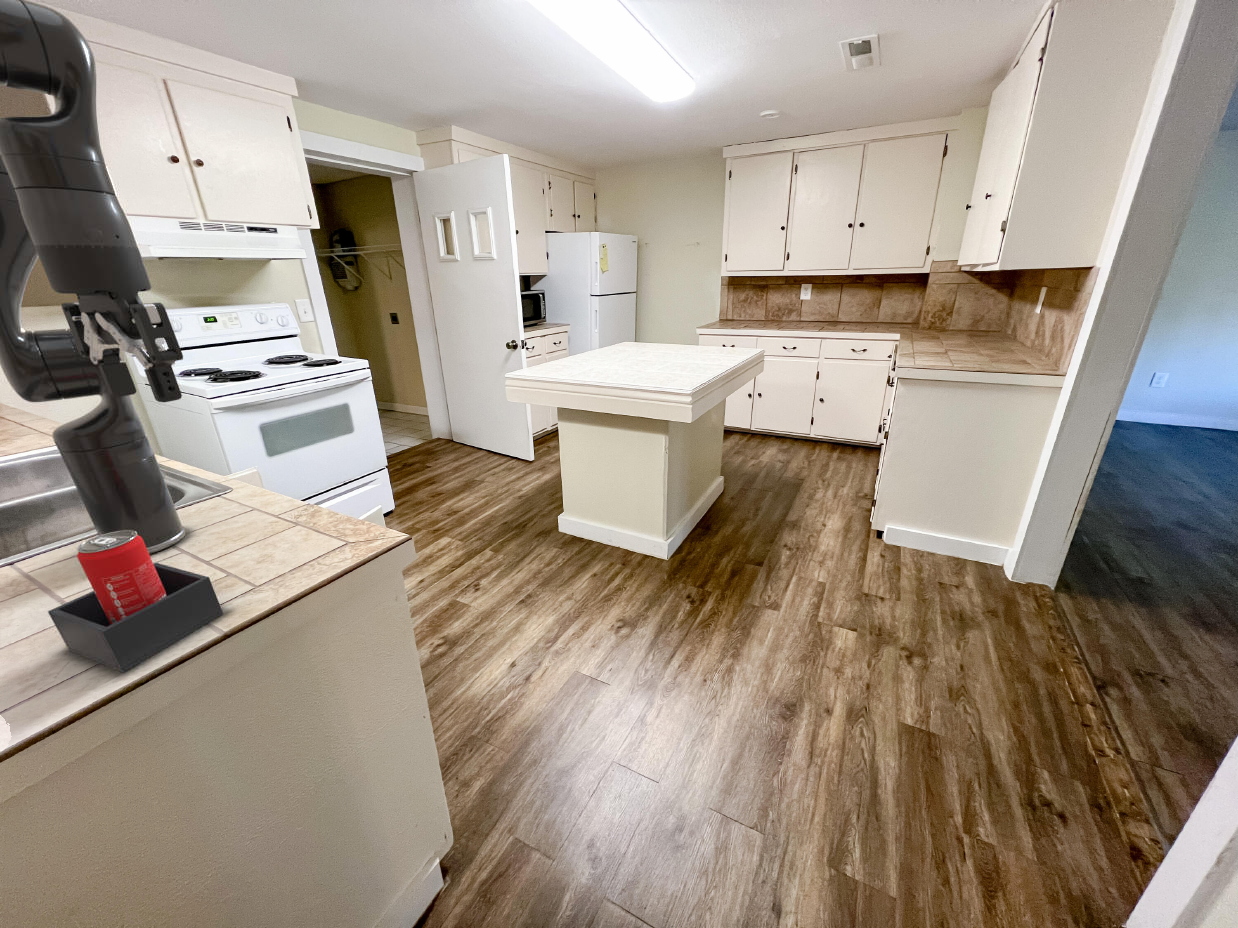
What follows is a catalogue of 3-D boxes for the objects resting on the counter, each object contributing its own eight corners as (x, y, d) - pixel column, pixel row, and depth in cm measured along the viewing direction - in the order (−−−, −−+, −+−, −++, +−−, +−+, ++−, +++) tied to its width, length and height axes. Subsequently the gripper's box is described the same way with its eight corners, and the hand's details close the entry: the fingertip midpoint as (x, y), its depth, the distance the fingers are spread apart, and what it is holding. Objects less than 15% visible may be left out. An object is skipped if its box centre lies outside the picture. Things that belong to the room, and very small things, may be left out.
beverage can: (141, 646, 55) (98, 555, 51) (106, 640, 56) (60, 550, 52) (187, 616, 60) (151, 530, 55) (154, 611, 61) (116, 527, 56)
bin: (69, 650, 55) (47, 611, 53) (171, 597, 64) (156, 562, 62) (123, 672, 52) (102, 631, 50) (223, 613, 61) (209, 576, 59)
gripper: (173, 243, 51) (222, 395, 57) (94, 246, 55) (147, 387, 61) (78, 239, 44) (145, 411, 50) (-2, 244, 49) (68, 401, 55)
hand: (146, 398), depth 56 cm, fingers open, 8 cm apart
